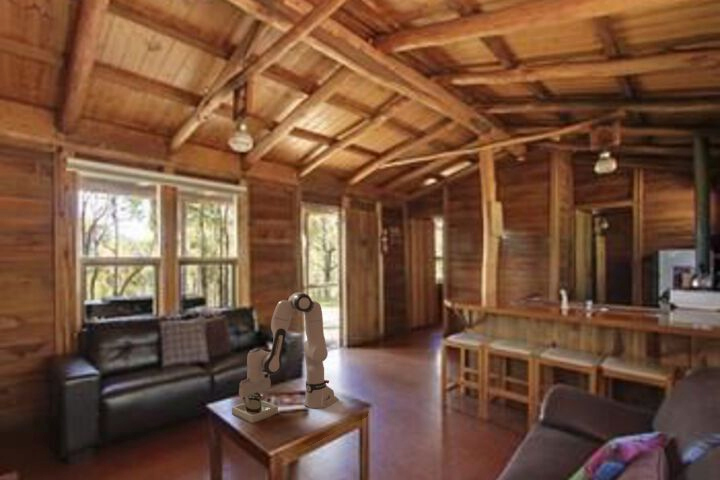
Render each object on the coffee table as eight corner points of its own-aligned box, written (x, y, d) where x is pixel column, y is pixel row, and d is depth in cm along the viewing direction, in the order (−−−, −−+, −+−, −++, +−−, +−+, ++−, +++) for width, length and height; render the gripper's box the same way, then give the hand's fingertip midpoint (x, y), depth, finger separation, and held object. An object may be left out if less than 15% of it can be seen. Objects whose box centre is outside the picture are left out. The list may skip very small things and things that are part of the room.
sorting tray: (257, 404, 257) (257, 398, 257) (277, 413, 244) (277, 406, 244) (231, 414, 243) (231, 407, 243) (252, 423, 230) (252, 416, 230)
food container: (267, 407, 246) (265, 392, 244) (262, 414, 240) (260, 399, 238) (250, 405, 250) (247, 390, 248) (244, 411, 244) (241, 396, 242)
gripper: (243, 382, 233) (243, 406, 233) (272, 373, 249) (272, 396, 249) (236, 380, 238) (236, 404, 238) (265, 371, 253) (265, 393, 253)
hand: (255, 400), depth 244 cm, fingers open, 8 cm apart
